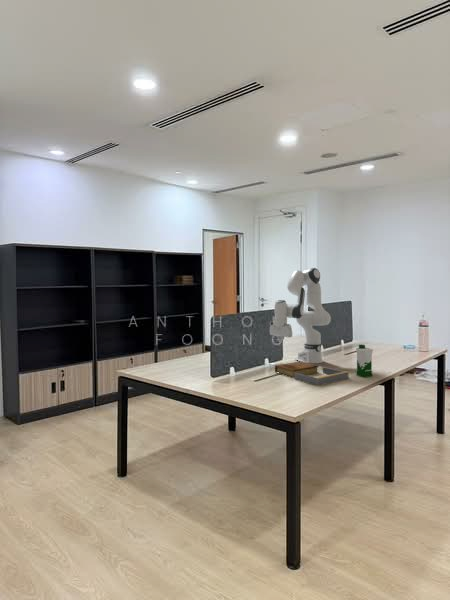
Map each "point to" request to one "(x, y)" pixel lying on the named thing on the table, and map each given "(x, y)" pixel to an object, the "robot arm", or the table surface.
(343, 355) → the table surface
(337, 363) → the table surface
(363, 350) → the milk carton
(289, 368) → the diary
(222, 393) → the table surface
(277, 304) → the robot arm
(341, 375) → the bay
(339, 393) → the table surface
